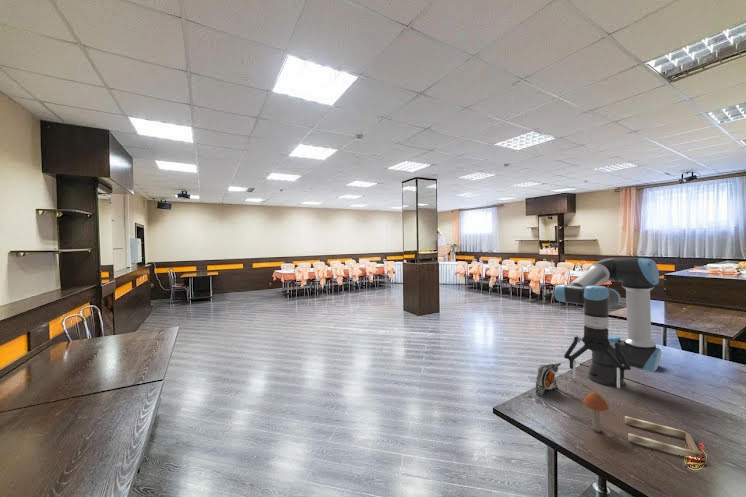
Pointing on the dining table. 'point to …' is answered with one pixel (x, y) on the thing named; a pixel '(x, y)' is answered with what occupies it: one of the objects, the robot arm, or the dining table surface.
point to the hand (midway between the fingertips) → (595, 381)
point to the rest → (660, 445)
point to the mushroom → (595, 408)
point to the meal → (546, 377)
